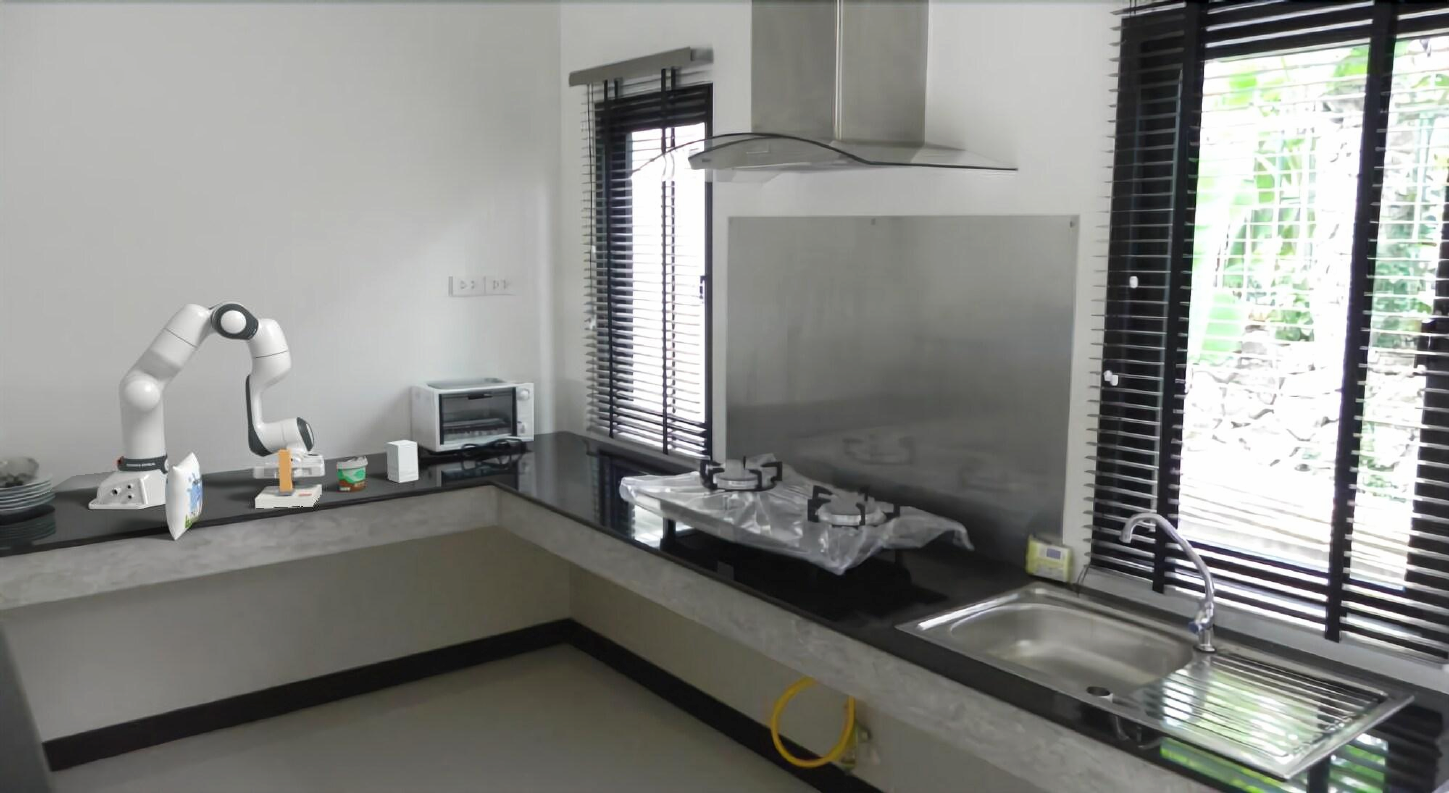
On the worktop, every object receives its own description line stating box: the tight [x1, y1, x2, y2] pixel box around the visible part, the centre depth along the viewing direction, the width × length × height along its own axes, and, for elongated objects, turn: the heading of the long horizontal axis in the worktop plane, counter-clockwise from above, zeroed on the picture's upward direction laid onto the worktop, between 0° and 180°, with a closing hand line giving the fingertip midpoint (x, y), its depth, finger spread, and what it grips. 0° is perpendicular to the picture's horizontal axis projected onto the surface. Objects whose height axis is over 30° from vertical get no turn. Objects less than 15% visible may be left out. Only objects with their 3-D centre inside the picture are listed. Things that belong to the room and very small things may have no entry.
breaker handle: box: [277, 450, 295, 496], centre depth 316 cm, size 4×5×13 cm
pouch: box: [164, 452, 203, 542], centre depth 286 cm, size 8×19×20 cm, turn 9°
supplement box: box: [386, 439, 419, 483], centre depth 350 cm, size 7×7×13 cm
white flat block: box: [254, 483, 323, 509], centre depth 321 cm, size 16×16×3 cm
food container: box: [336, 454, 369, 493], centre depth 336 cm, size 12×6×10 cm, turn 168°
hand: (285, 475), depth 315 cm, fingers closed on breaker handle, 3 cm apart
